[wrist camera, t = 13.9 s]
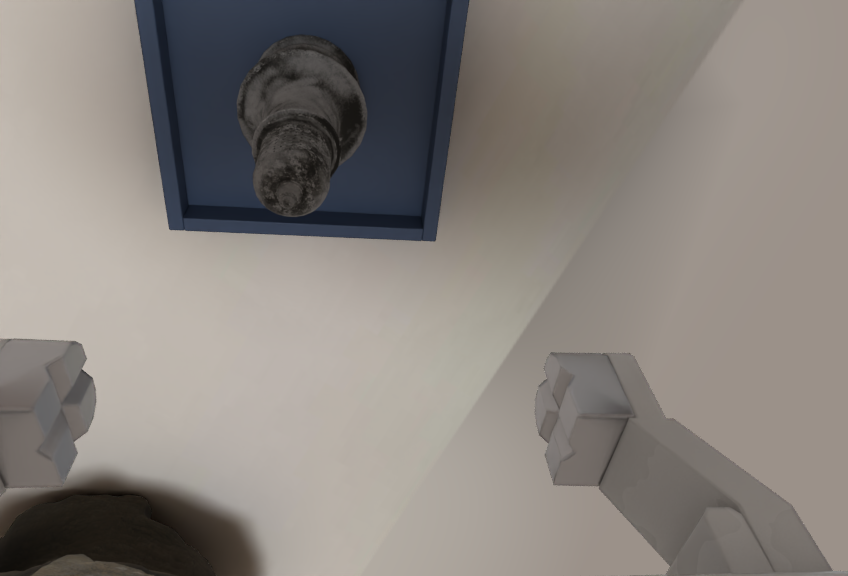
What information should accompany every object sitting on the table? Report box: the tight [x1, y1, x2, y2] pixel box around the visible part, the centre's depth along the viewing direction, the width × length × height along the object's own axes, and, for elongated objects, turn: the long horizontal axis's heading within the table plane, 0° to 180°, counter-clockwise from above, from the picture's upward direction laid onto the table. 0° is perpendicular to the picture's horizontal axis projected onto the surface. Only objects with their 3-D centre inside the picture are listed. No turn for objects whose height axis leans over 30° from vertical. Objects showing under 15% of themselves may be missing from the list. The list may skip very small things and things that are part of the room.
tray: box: [134, 0, 469, 241], centre depth 31 cm, size 15×15×2 cm
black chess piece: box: [237, 34, 367, 217], centre depth 27 cm, size 6×6×12 cm
